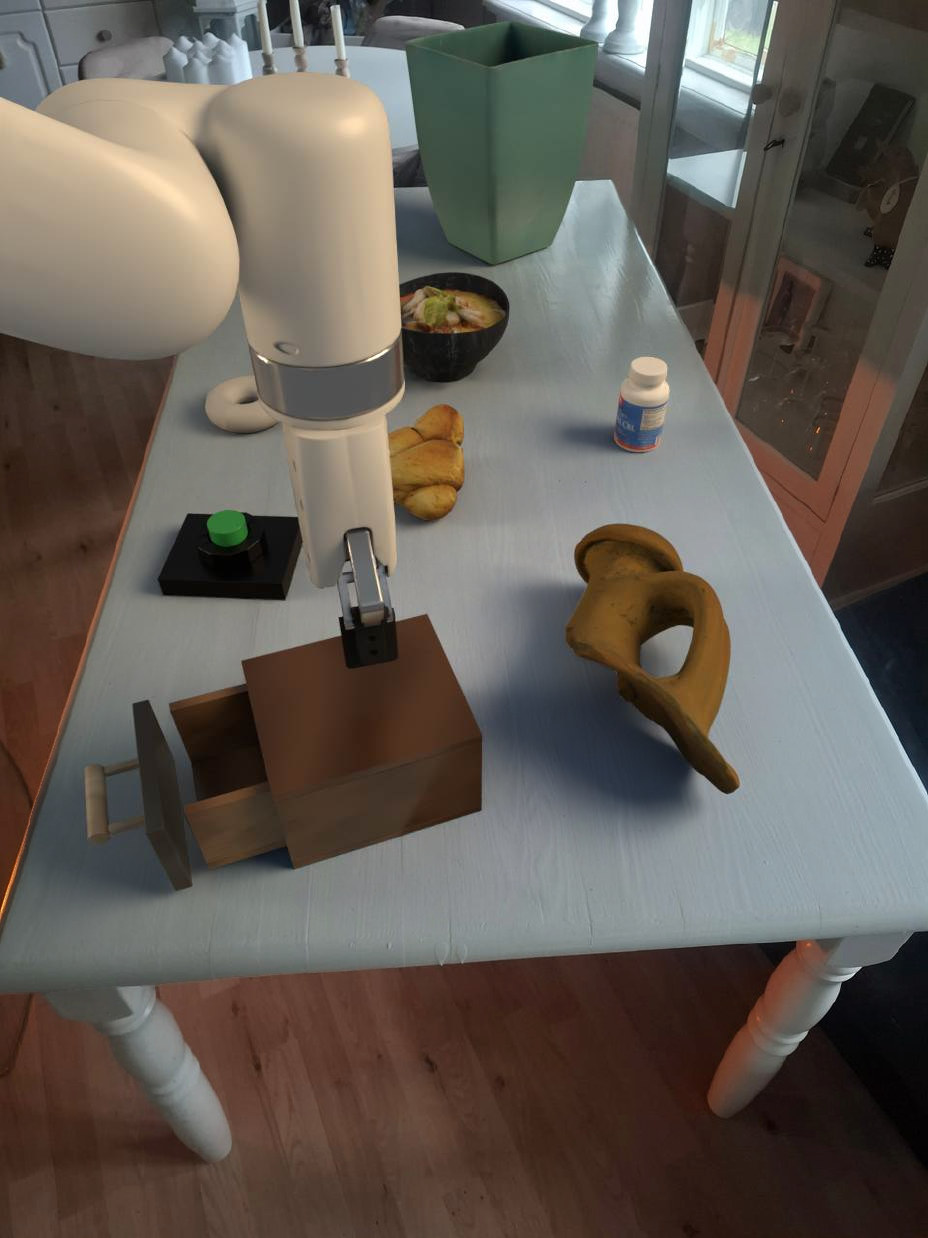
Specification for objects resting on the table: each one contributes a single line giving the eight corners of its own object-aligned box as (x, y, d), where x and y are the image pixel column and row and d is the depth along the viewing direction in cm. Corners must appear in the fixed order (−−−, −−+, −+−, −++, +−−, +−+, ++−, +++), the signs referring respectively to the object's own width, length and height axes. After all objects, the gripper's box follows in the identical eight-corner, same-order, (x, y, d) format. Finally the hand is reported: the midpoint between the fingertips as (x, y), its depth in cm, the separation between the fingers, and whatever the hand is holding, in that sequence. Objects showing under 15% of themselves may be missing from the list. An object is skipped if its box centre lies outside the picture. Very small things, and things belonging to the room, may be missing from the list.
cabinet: (294, 869, 63) (271, 796, 56) (263, 738, 71) (240, 660, 64) (482, 810, 66) (482, 735, 59) (431, 691, 74) (427, 613, 68)
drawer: (112, 911, 60) (74, 854, 54) (103, 780, 67) (69, 719, 62) (361, 834, 64) (350, 774, 58) (326, 719, 71) (313, 656, 66)
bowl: (529, 351, 116) (532, 278, 109) (471, 413, 105) (471, 337, 98) (418, 324, 121) (415, 253, 114) (353, 381, 111) (344, 306, 104)
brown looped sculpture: (470, 696, 64) (557, 491, 76) (523, 782, 73) (593, 587, 85) (721, 726, 55) (776, 487, 67) (746, 820, 64) (791, 596, 76)
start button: (206, 546, 83) (202, 532, 81) (216, 522, 85) (212, 508, 84) (243, 548, 82) (239, 533, 81) (252, 524, 85) (248, 510, 84)
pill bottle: (605, 433, 102) (614, 357, 95) (645, 424, 103) (657, 348, 96) (627, 458, 98) (638, 381, 91) (668, 448, 100) (683, 371, 93)
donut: (297, 395, 109) (219, 393, 109) (294, 370, 106) (213, 368, 107) (282, 440, 102) (198, 437, 102) (278, 414, 99) (192, 412, 100)
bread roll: (468, 528, 90) (468, 465, 84) (375, 532, 90) (368, 468, 84) (463, 457, 99) (462, 395, 93) (378, 460, 99) (372, 398, 93)
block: (162, 595, 83) (151, 564, 80) (192, 529, 90) (183, 498, 87) (285, 600, 83) (278, 569, 80) (305, 533, 90) (300, 502, 87)
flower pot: (412, 240, 142) (401, 38, 122) (505, 211, 150) (510, 17, 130) (487, 282, 131) (489, 66, 111) (584, 248, 139) (602, 42, 119)
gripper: (241, 298, 49) (286, 533, 61) (269, 474, 37) (318, 721, 49) (372, 284, 50) (391, 516, 62) (440, 449, 38) (446, 696, 50)
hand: (359, 606), depth 56 cm, fingers open, 9 cm apart
